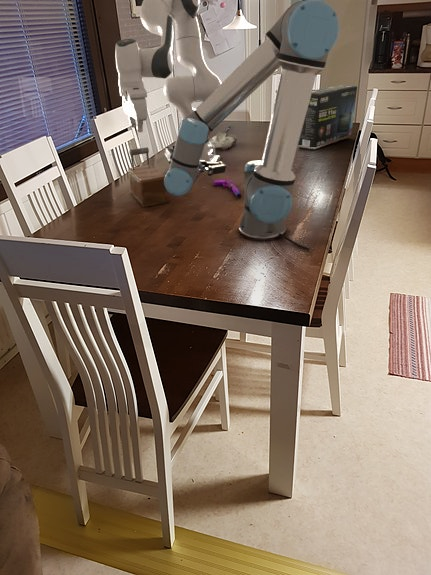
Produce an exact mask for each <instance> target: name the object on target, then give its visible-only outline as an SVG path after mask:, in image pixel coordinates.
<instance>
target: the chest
mask: <svg viewBox="0 0 431 575" xmlns="http://www.w3.org/2000/svg"><path fill="white" fill-rule="evenodd" d="M128 177H129V178H128V179H129V184H130V192H131V195H132V196H133V197H134V198H135V199H136V201H137V202H138V203H139V204H140V205H141V206H142V207H143V208H147V207H150V206H151V207H153V206H156V205H161V204H167V203H168V193H167V189H166V188H165V185H164V179H161V180H155V181H150V182H144V183H140V182H139V181H138V180H137V179H136V178H135V177H134V176H133V175H132V174H131V173H130V172H129V171H128Z"/></svg>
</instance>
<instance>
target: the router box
mask: <svg viewBox="0 0 431 575" xmlns="http://www.w3.org/2000/svg"><path fill="white" fill-rule="evenodd" d="M357 93H358V86H356V85H350V84H339V85H338V84H337V85H334V86H328V87H324V88H318V89H314V90H312V94H311V97H310V101H309V105H308V109H307V113H306V117H305V121H304V125H303V129H302V132H301V136H300V140H299V144H298V145H302V146H307V147H317V146H320V145H323V144H325V143H328V142H331V141H333V140H336V139H338V138H341V137H344V136H347V135H351V136H352V133H353V132H352V131H353V125H354V115H355V109H356V99H357ZM311 151H313V150H312V149H311Z"/></svg>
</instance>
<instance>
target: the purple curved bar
mask: <svg viewBox="0 0 431 575" xmlns="http://www.w3.org/2000/svg"><path fill="white" fill-rule="evenodd" d="M212 183H213V186H223V187H226V188H228V189H229V190H230V191H231V190H232V192H233V193H234V195H235V196H236V198H237V199H241V198H242V196H243V195H242V193H241V192H240V191H239V189H238V187H237V186H236V185H235V184H234V183H233V181H232V179H230V178H227V179H224V180H223V179H222V180H221V179H220V180H213V181H212Z"/></svg>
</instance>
